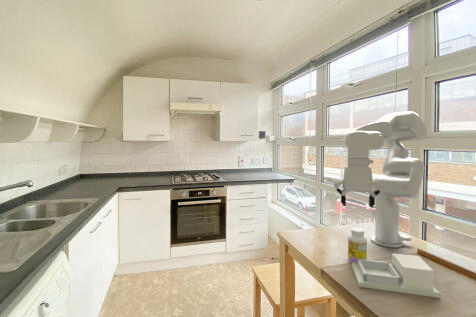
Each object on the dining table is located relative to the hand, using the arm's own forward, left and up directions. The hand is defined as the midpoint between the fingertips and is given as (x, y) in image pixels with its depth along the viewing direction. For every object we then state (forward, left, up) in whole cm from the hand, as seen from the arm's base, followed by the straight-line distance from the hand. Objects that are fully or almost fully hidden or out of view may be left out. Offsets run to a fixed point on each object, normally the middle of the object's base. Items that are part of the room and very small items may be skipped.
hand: (357, 206), depth 92 cm
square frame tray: (-8, +12, -22) cm, 27 cm away
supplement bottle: (0, 0, -23) cm, 23 cm away
